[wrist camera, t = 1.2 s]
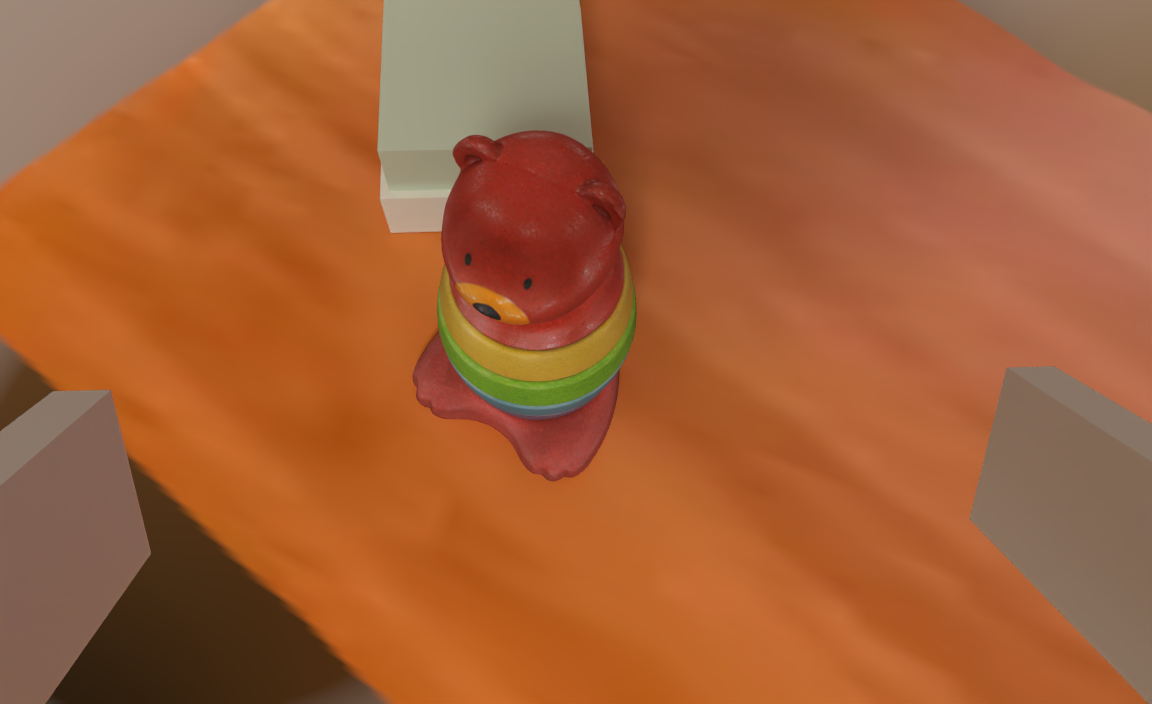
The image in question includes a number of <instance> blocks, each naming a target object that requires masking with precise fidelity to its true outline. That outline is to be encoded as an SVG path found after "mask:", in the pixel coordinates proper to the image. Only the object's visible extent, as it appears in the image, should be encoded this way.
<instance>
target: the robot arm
mask: <svg viewBox="0 0 1152 704" xmlns="http://www.w3.org/2000/svg"><path fill="white" fill-rule="evenodd" d="M970 520H971V521H972V522H973V523H974V524H975V525H976V526H977V527H978V529H979V530H980V531H981V532H982V533H983V534H984V535H985V536H986V537H987V538H988V539H989V540H990V541H991V542H992V543H993V544H994V545H995V546H996V547H997V548H998V549H999V550H1000V551H1001V552H1002V553H1003V554H1004V555H1005V556H1006V557H1007V558H1008V559H1009V560H1010V561H1011V562H1012V564H1013V565H1014V566H1015V567H1016V568H1017V569H1018V570H1019V571H1020V572H1021V573H1022V574H1023V575H1024V576H1025V577H1026V578H1027V579H1028V580H1029V581H1030V582H1031V583H1032V584H1033V585H1034V586H1035V587H1036V588H1037V589H1038V590H1039V591H1040V592H1041V593H1042V594H1043V595H1044V596H1045V597H1046V599H1047V600H1048V601H1049V602H1050V603H1051V604H1052V605H1053V606H1054V607H1055V608H1056V609H1057V610H1058V611H1059V612H1060V613H1061V614H1062V615H1063V616H1064V617H1065V618H1066V619H1067V620H1068V621H1069V622H1070V623H1071V624H1072V625H1073V626H1074V627H1075V628H1076V629H1077V630H1078V631H1079V632H1080V634H1081V635H1082V636H1083V637H1084V638H1085V639H1086V640H1087V641H1088V642H1089V643H1090V644H1091V645H1092V646H1093V647H1094V648H1095V649H1096V650H1097V651H1098V652H1099V653H1100V654H1101V655H1102V656H1103V657H1104V658H1105V659H1106V660H1107V661H1108V662H1109V663H1110V664H1111V665H1112V666H1113V667H1114V669H1115V670H1116V671H1117V672H1118V673H1119V674H1120V675H1121V676H1122V677H1123V678H1124V679H1125V680H1126V681H1127V682H1128V683H1129V684H1130V685H1131V686H1132V687H1133V688H1134V689H1135V690H1136V691H1137V692H1138V693H1139V694H1140V695H1141V696H1142V697H1143V698H1144V699H1145V700H1146V701H1147V702H1148V704H1152V424H1151V423H1149V422H1147V421H1146V420H1144V419H1142V418H1141V417H1139V416H1137V415H1135V414H1134V413H1132V412H1130V411H1129V410H1127V409H1125V408H1124V407H1122V406H1120V405H1118V404H1117V403H1115V402H1113V401H1112V400H1110V399H1108V398H1107V397H1105V396H1103V395H1102V394H1100V393H1098V392H1096V391H1095V390H1093V389H1091V388H1090V387H1088V386H1086V385H1085V384H1083V383H1081V382H1079V381H1078V380H1076V379H1074V378H1073V377H1071V376H1069V375H1068V374H1066V373H1064V372H1063V371H1061V370H1059V369H1057V368H1056V367H1054V366H1053V367H1013V368H1007V369H1006V373H1005V377H1004V381H1003V385H1002V389H1001V393H1000V397H999V401H998V405H997V409H996V413H995V417H994V421H993V426H992V430H991V434H990V438H989V442H988V446H987V450H986V454H985V458H984V462H983V466H982V470H981V474H980V478H979V483H978V487H977V491H976V495H975V499H974V503H973V507H972V511H971V515H970ZM150 554H151V552H150V547H149V543H148V539H147V535H146V531H145V527H144V523H143V519H142V515H141V511H140V507H139V503H138V499H137V495H136V491H135V486H134V482H133V478H132V474H131V471H130V466H129V462H128V458H127V454H126V450H125V446H124V442H123V438H122V434H121V430H120V426H119V421H118V417H117V413H116V409H115V405H114V401H113V397H112V393H111V390H91V391H53V392H52V393H50V394H49V395H48V396H46V397H45V398H44V399H42V400H41V401H40V402H38V403H37V404H36V405H34V406H33V407H32V408H30V409H29V410H28V411H27V412H25V413H24V414H23V415H21V416H20V417H19V418H17V419H16V420H15V421H13V422H12V423H11V424H9V425H8V426H7V427H5V428H4V429H3V430H1V431H0V704H45V703H46V702H47V700H48V699H49V697H50V696H51V695H52V693H53V692H54V690H55V689H56V688H57V686H58V685H59V683H60V682H61V680H62V679H63V677H64V676H65V675H66V673H67V672H68V670H69V669H70V667H71V666H72V665H73V663H74V662H75V661H76V659H77V658H78V656H79V655H80V653H81V652H82V651H83V649H84V648H85V646H86V645H87V643H88V642H89V641H90V639H91V638H92V636H93V635H94V634H95V632H96V631H97V629H98V628H99V626H100V625H101V624H102V622H103V621H104V619H105V618H106V617H107V615H108V614H109V612H110V611H111V609H112V608H113V607H114V605H115V604H116V602H117V601H118V599H119V598H120V597H121V595H122V594H123V592H124V591H125V590H126V588H127V587H128V585H129V584H130V582H131V581H132V579H133V578H134V577H135V575H136V574H137V572H138V571H139V570H140V568H141V567H142V565H143V564H144V563H145V561H146V560H147V558H148V557H149V555H150Z"/></svg>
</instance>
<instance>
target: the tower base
mask: <svg viewBox="0 0 1152 704" xmlns="http://www.w3.org/2000/svg"><path fill="white" fill-rule="evenodd" d="M532 130H539V131H551V132H556V133H560V134H563V135H566V136H569V137H571V138H573V139H575V140H576V141H578V142H580V143H582V144H583V145H584V146H585V147H587V148H588V149H589V150H591V151H592V152H593V153H594V151H593V140H592V129H591V118H590V107H589V96H588V85H587V74H586V63H585V52H584V41H583V30H582V18H581V7H580V2H579V0H384V11H383V34H382V58H381V81H380V105H379V128H378V154H379V158H380V161H381V184H380V201H381V204H382V207H383V210H384V213H385V216H386V219H387V222H388V226H389V229H390V232H391V233H400V232H438V231H442V223H443V215H444V210H445V205H446V202H447V199H448V196H449V194H450V192H451V189H452V187H453V185H454V183H455V181H456V179H457V178H458V176H459V174H460V170H461V169H460V167H459V166H458V165H457V163H456V162H455V159H454V157H453V148H454V147H455V145H456V144H457V143H458V142H459V141H461V140H462V139H464V138H466V137H467V136H470V135H482V136H486V137H488V138H490V139H492V140H493V141H495V140H497V139H500V138H502V137H504V136H507V135H510V134H514V133H518V132H523V131H532Z"/></svg>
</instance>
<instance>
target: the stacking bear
mask: <svg viewBox="0 0 1152 704" xmlns="http://www.w3.org/2000/svg"><path fill="white" fill-rule="evenodd" d="M453 157H454V159H455V162H456V163H457V165H458V166H459V167H460V169H461V170H460V174H459V176H458V178H457V179H456V181H455V183H454V185H453V187H452V189H451V192H450V194H449V196H448V199H447V202H446V205H445V210H444V215H443V223H442V237H441V241H442V253H443V258H444V262H445V264H444V268H443V272H442V277H441V282H440V286H439V292H438V303H437V316H438V327H439V333H438V334H437V335H436V336H435V338H434V339H433V340H432V341H431V343H430V344H429V345H428V347H427V348H426V350H425V351H424V352H423V354H422V356H421V357H420V359H419V360H418V362H417V364H416V367H415V370H414V373H413V382H414V384H415V386H416V387H417V393H416V397H417V400H418V401H419V403H420V404H422V405H423V406H425V407H428V408H430V409H431V411H432V413H433V414H434V415H436V416H437V417H440V418H444V419H469V420H474V421H479V422H482V423H485V424H487V425H490V426H491V427H493V428H495V429H496V430H498V431H499V432H500V433H502V434H503V435H504V436H505V437H506V438H507V439H508V440H509V441H510V442H511V444H512V445H513V446H514V448H515V450H516V452H517V454H518V456H519V458H520V460H521V461H522V463H523V464H524V466H525V467H526V468H527V469H528V470H529V471H530V472H532V473H534V474H541V475H543V476H544V477H545V478H546V479H547V480H549V481H557V480H560V479H561V478H563V477H574V476H576V475H578V474H580V473H581V472H582V471H583V470H584V469H585V468H586V467H587V466H588V465H589V463H590V462H591V460H592V459H593V457H594V456H595V455H596V453H597V451H598V449H599V448H600V446H601V444H602V442H603V440H604V438H605V436H606V433H607V431H608V429H609V426H610V423H611V420H612V417H613V413H614V409H615V405H616V400H617V394H618V384H619V369H620V367H621V366H622V364H623V362H624V360H625V358H626V356H627V354H628V352H629V349H630V346H631V343H632V341H633V337H634V332H635V327H636V296H635V289H634V284H633V280H632V275H631V271H630V267H629V263H628V260H627V257H626V254H625V252H624V250H623V248H622V246H621V241H622V237H623V230H624V219H625V215H626V206H625V203H624V200H623V198H622V196H621V194H620V193H619V191H618V188H617V186H616V184H615V182H614V179H613V178H612V176H611V174H610V173H609V171H608V170H607V168H606V167H605V166H604V164H603V163H602V162H601V161H600V160H599V158H598V157H597V156H596V155H595V154H594V153H593V152H592V151H591V150H589V149H588V148H587V147H585V146H584V145H583V144H582V143H580V142H578V141H576V140H575V139H573V138H571V137H569V136H566V135H563V134H560V133H556V132H551V131H539V130H532V131H523V132H518V133H514V134H510V135H507V136H504V137H502V138H500V139H497V140H495V141H493V140H492V139H490V138H488V137H486V136H482V135H470V136H467V137H466V138H464V139H462V140H461V141H459V142H458V143H457V144H456V145H455V147H454V148H453Z"/></svg>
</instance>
